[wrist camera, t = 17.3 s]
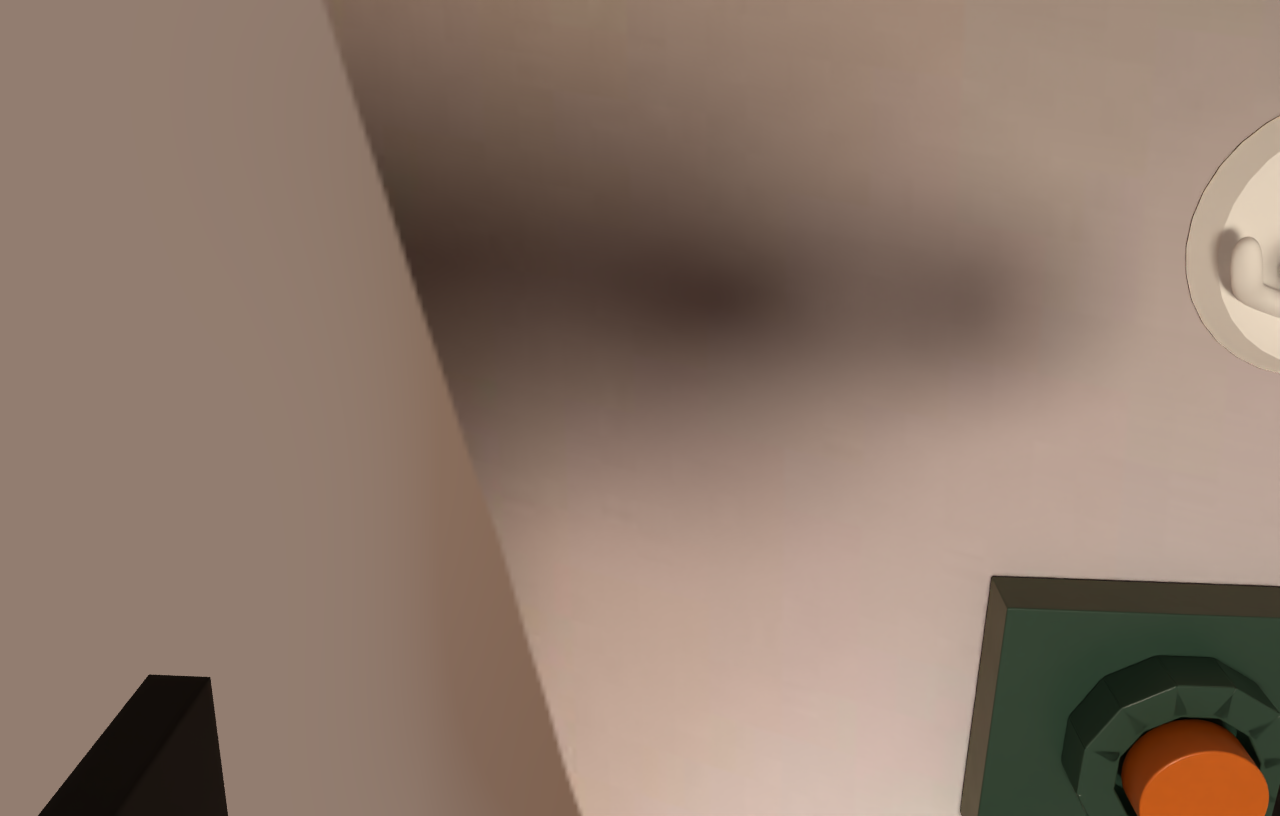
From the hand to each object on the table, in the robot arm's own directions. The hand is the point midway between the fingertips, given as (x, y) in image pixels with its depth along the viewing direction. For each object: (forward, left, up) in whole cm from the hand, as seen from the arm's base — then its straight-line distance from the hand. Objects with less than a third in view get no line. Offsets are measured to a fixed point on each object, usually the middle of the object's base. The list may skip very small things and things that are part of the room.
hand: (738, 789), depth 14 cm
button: (+16, -15, -21) cm, 30 cm away
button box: (+16, -15, -24) cm, 33 cm away
